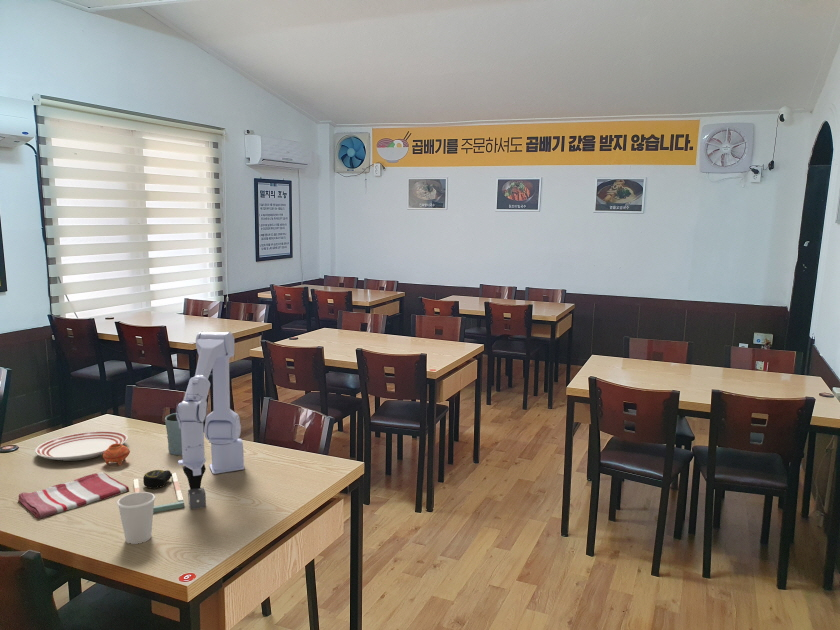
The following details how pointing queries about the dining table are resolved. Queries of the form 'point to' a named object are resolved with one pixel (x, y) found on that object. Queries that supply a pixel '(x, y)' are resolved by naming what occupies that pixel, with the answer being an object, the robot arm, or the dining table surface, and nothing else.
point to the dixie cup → (137, 516)
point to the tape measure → (156, 478)
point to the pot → (116, 453)
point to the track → (171, 505)
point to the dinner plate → (80, 445)
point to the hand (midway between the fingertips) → (195, 491)
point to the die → (197, 498)
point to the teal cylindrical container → (173, 434)
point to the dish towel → (71, 494)
